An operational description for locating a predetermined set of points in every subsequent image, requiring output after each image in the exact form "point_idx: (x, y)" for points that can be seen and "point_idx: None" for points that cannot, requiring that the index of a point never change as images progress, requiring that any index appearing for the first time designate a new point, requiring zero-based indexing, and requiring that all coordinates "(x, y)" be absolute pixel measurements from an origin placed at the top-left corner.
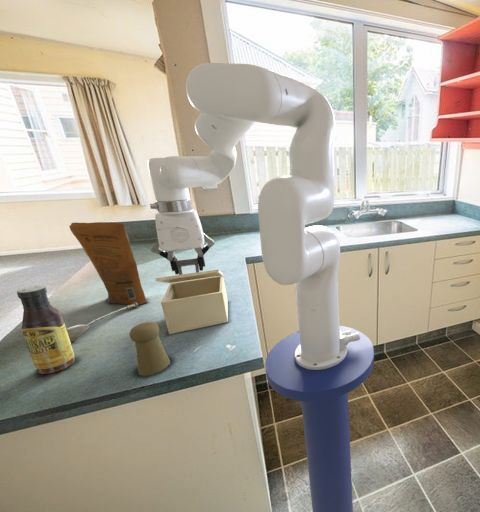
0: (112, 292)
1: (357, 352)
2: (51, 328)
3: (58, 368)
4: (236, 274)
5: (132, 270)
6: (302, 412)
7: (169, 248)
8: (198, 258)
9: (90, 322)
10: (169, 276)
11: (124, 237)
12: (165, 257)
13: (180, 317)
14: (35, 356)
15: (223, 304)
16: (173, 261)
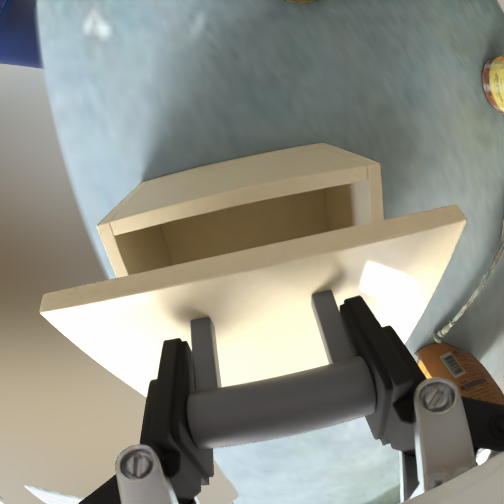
0: (480, 365)
1: None
2: None
3: (492, 59)
4: (227, 460)
5: None
6: (33, 5)
7: (500, 494)
8: (163, 430)
9: (501, 253)
10: (392, 236)
11: None
12: (472, 404)
13: (292, 157)
14: None
15: (121, 202)
16: (403, 377)
